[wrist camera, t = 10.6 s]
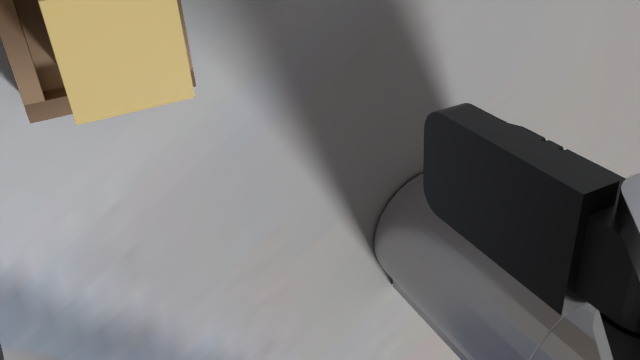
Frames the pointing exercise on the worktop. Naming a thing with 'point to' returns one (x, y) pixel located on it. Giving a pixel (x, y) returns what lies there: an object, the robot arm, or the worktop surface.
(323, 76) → the worktop surface
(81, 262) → the worktop surface
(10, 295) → the worktop surface
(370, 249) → the worktop surface
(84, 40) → the yellow and grey box
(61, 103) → the rail
